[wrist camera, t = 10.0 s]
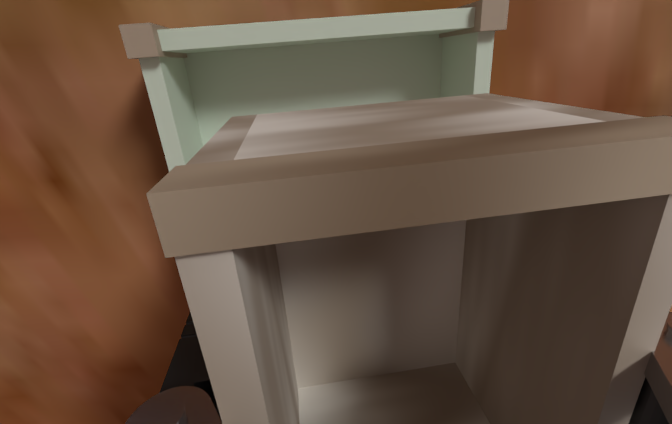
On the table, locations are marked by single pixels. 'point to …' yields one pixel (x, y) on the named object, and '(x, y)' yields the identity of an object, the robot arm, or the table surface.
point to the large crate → (307, 66)
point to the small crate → (426, 261)
